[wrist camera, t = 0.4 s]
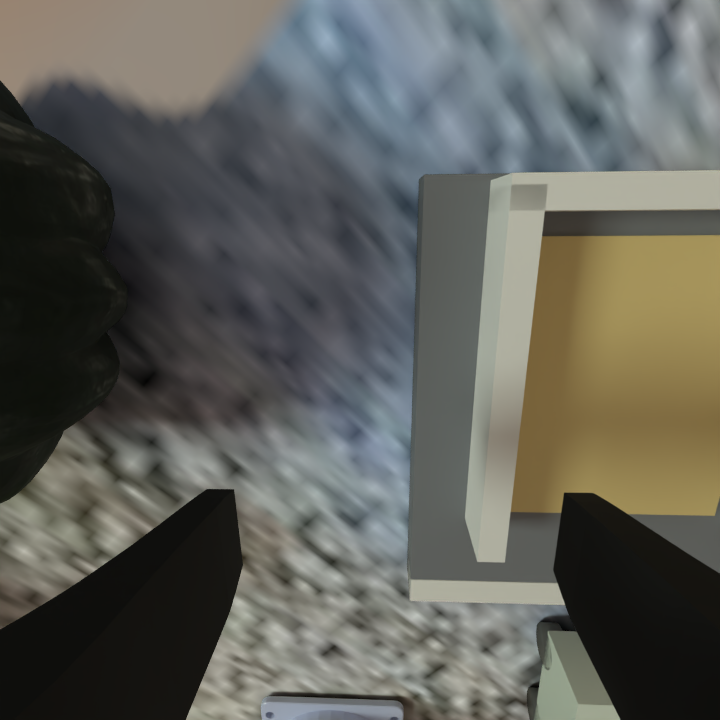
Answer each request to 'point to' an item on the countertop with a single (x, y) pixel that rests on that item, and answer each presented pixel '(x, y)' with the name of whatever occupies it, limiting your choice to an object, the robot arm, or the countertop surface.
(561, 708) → the upright pale green block
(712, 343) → the dock
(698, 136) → the countertop surface
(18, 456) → the squash
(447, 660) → the countertop surface
